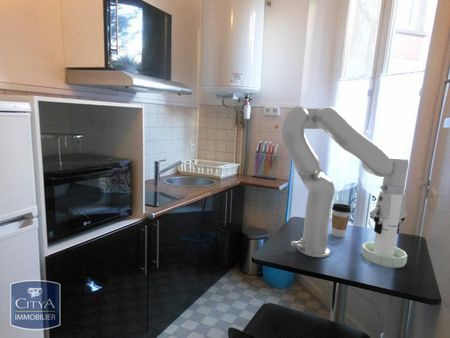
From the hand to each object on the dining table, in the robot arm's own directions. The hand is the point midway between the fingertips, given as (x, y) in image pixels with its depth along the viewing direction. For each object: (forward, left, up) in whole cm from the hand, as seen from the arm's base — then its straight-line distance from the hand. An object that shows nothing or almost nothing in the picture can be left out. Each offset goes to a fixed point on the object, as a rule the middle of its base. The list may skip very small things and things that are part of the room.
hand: (386, 232), depth 119 cm
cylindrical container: (0, 0, -9) cm, 9 cm away
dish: (0, 0, -11) cm, 11 cm away
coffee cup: (-4, +26, -11) cm, 28 cm away
